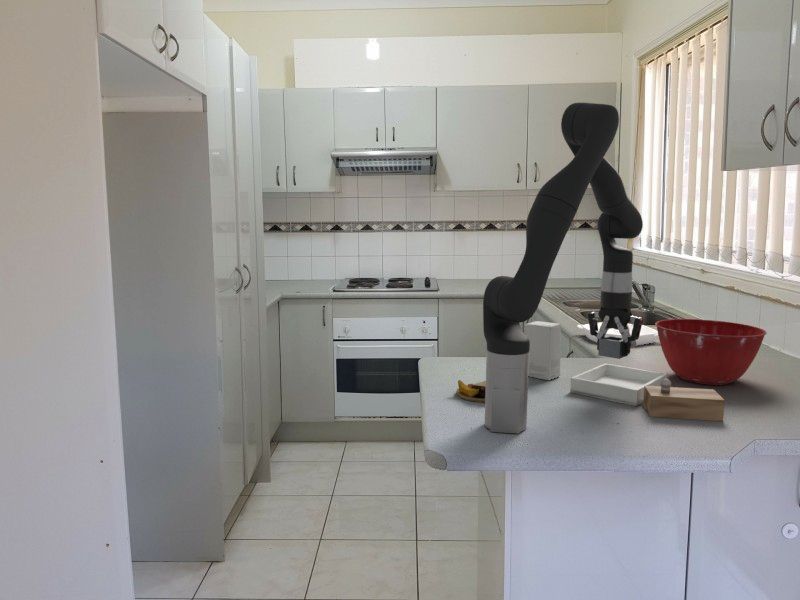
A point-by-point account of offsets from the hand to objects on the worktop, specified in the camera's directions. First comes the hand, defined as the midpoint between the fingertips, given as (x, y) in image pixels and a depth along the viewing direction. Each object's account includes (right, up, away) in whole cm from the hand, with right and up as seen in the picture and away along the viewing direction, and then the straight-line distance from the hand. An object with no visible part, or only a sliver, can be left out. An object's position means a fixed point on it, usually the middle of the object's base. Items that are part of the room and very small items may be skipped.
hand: (613, 354), depth 170 cm
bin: (+4, -10, +6) cm, 12 cm away
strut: (+3, 0, +4) cm, 5 cm away
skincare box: (-14, -8, +19) cm, 25 cm away
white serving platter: (+26, -1, +74) cm, 78 cm away
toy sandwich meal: (-34, -11, 0) cm, 35 cm away
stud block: (+12, -13, -13) cm, 22 cm away
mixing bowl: (+32, -9, +19) cm, 39 cm away
